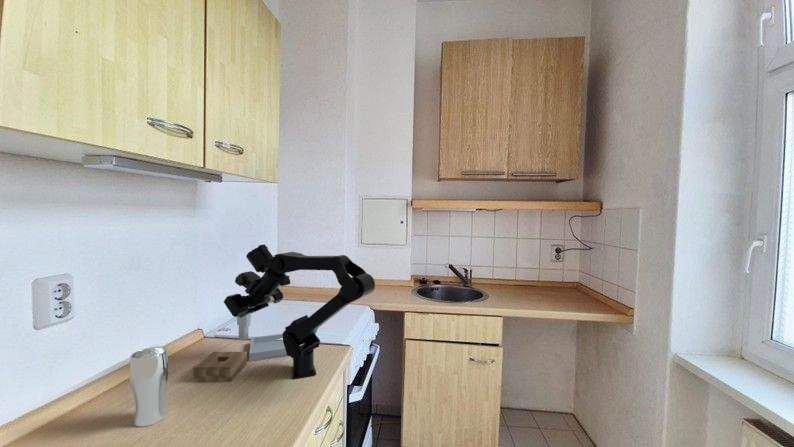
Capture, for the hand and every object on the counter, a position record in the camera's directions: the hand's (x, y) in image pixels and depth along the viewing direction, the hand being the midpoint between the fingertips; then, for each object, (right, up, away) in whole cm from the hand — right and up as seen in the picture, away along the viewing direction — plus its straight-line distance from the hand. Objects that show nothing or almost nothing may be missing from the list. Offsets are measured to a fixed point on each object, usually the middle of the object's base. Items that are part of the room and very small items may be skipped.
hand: (242, 315), depth 105 cm
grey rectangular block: (0, -7, 0) cm, 7 cm away
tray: (+7, -13, +7) cm, 17 cm away
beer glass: (-6, -15, -30) cm, 34 cm away
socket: (-2, -14, -9) cm, 17 cm away
